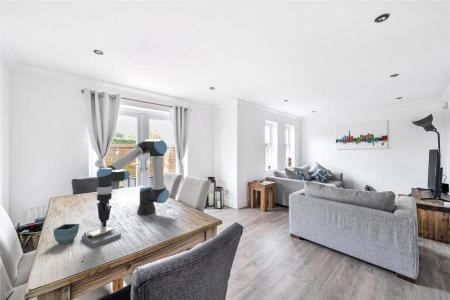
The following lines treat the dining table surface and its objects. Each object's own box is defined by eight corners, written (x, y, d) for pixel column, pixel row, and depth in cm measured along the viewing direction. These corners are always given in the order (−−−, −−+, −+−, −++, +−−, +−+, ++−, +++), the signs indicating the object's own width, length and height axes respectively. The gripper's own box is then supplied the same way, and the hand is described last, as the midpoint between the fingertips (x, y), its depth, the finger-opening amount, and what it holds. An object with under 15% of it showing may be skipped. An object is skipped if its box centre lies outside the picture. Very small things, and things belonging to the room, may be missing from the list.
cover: (86, 233, 112) (86, 232, 112) (107, 227, 122) (107, 225, 122) (93, 236, 107) (93, 235, 107) (114, 229, 117) (114, 228, 117)
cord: (92, 233, 112) (94, 236, 111) (106, 229, 119) (108, 231, 117) (91, 238, 113) (93, 240, 111) (105, 233, 119) (107, 235, 118)
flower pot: (64, 238, 113) (64, 223, 113) (79, 238, 114) (79, 223, 114) (52, 245, 105) (52, 229, 105) (68, 245, 105) (69, 229, 105)
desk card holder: (81, 239, 112) (81, 232, 112) (108, 231, 125) (108, 224, 125) (93, 247, 103) (94, 239, 103) (120, 237, 116) (121, 230, 116)
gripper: (92, 192, 113) (91, 230, 113) (103, 195, 106) (101, 236, 106) (105, 190, 119) (104, 226, 119) (116, 193, 112) (115, 232, 112)
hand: (103, 231), depth 113 cm, fingers closed
